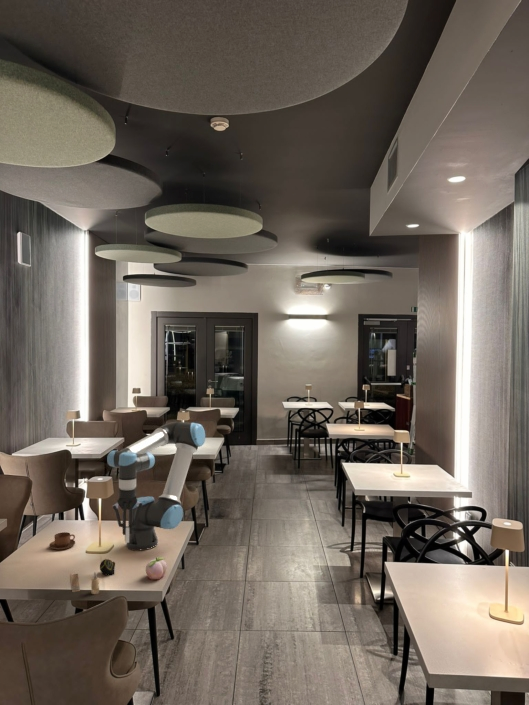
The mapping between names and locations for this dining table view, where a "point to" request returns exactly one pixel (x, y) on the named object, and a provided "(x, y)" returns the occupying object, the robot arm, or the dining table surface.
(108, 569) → the tape measure
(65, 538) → the cup and saucer
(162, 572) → the decorative fruit
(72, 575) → the joist strip
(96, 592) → the beige bottle
